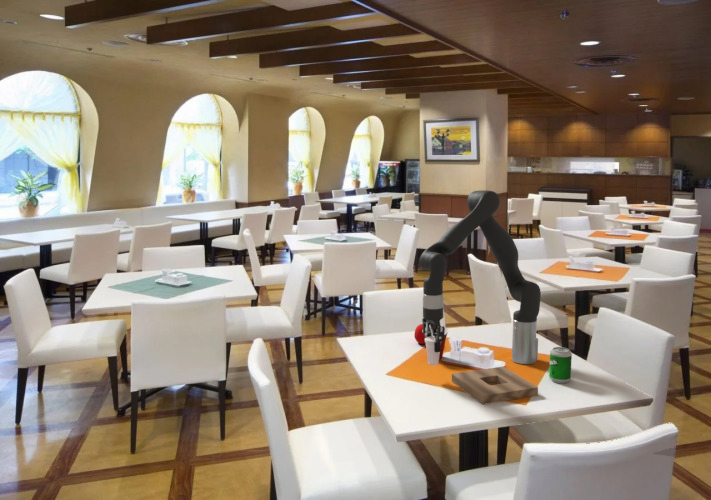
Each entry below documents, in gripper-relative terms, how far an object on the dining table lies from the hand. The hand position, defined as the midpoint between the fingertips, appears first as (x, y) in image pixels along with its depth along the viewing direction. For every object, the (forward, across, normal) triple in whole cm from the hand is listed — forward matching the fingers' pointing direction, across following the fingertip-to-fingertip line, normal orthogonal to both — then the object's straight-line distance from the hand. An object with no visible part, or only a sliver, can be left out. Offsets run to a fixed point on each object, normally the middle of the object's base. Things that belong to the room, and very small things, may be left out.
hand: (433, 348), depth 222 cm
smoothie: (+6, 0, 0) cm, 6 cm away
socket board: (+12, -15, -17) cm, 26 cm away
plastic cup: (+12, +22, -12) cm, 28 cm away
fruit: (+13, +41, -16) cm, 46 cm away
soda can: (+13, -17, -44) cm, 49 cm away
